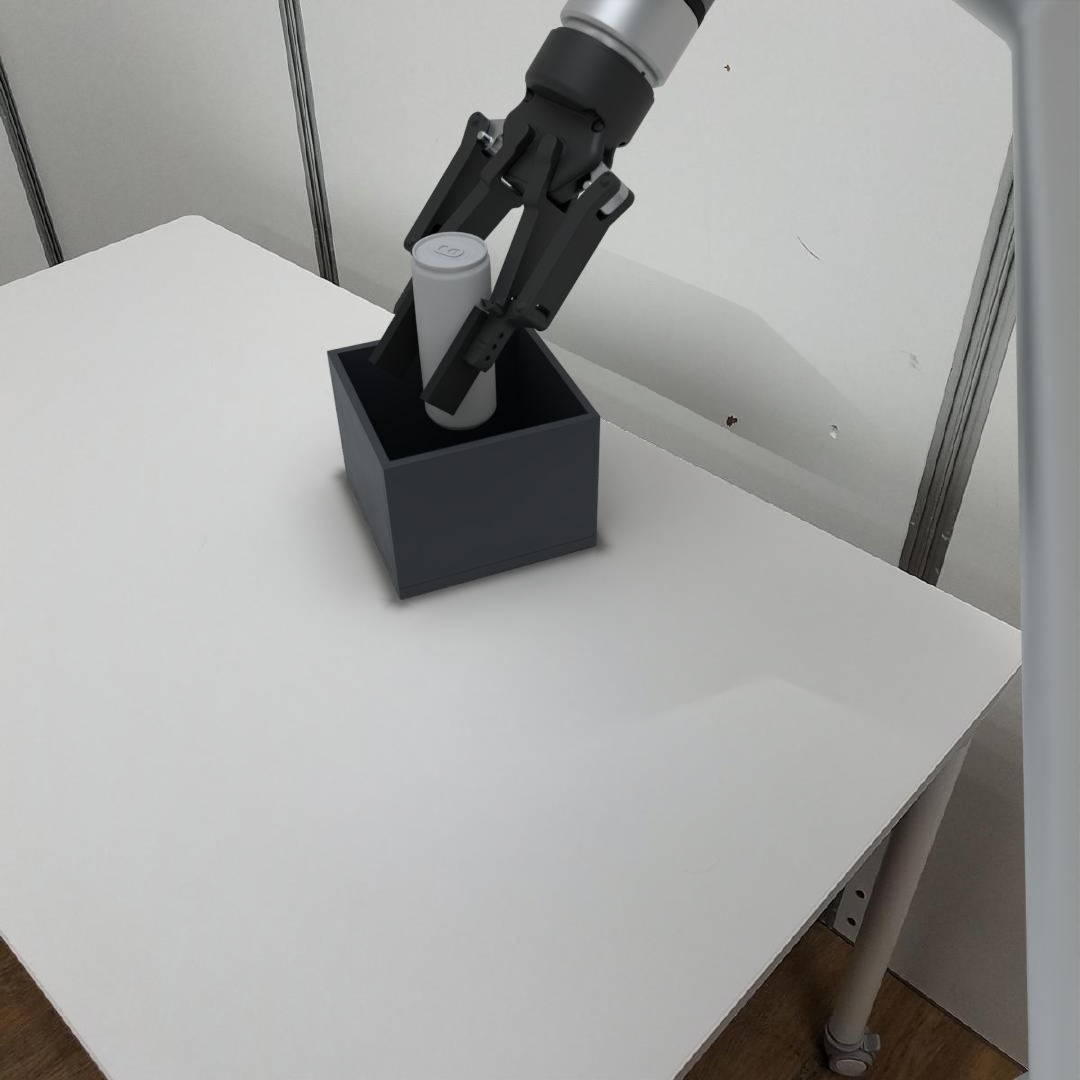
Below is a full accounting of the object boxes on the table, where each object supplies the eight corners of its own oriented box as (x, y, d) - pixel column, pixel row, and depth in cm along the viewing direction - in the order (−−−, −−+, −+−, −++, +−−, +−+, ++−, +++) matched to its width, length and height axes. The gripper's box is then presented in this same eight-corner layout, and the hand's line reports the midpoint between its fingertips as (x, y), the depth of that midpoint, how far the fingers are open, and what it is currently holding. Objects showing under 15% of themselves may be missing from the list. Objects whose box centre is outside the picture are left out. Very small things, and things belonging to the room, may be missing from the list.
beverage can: (470, 442, 73) (459, 276, 65) (410, 420, 74) (393, 255, 66) (510, 406, 76) (505, 242, 68) (452, 385, 78) (440, 224, 69)
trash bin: (596, 545, 78) (600, 416, 70) (400, 600, 74) (383, 469, 66) (523, 433, 88) (520, 309, 80) (346, 476, 84) (326, 350, 76)
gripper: (743, 133, 66) (534, 469, 69) (544, 56, 76) (369, 351, 79) (687, 62, 60) (461, 433, 63) (479, -12, 70) (293, 311, 73)
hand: (410, 387), depth 71 cm, fingers closed on beverage can, 5 cm apart
